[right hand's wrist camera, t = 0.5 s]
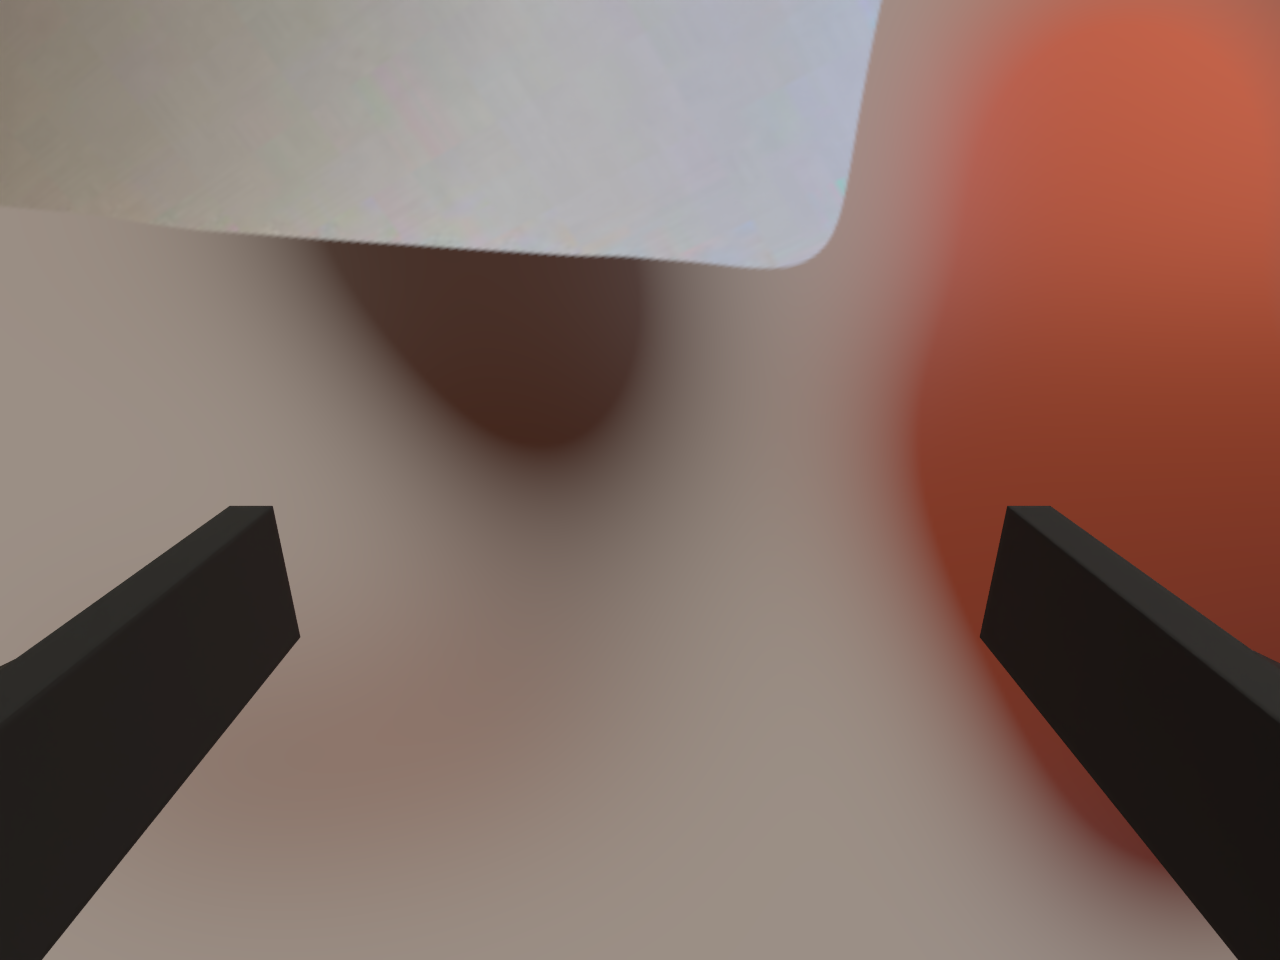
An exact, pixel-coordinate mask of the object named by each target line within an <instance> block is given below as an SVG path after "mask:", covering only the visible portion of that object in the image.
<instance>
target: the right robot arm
mask: <svg viewBox="0 0 1280 960" xmlns="http://www.w3.org/2000/svg"><path fill="white" fill-rule="evenodd" d="M299 638H300V634H299V629H298V624H297V620H296V615H295V610H294V605H293V600H292V596H291V591H290V586H289V581H288V577H287V572H286V567H285V562H284V558H283V553H282V548H281V543H280V539H279V534H278V529H277V524H276V520H275V515H274V510H273V506H229V507H228V508H226V509H225V510H223V511H222V512H221V513H219V514H218V515H216V516H215V517H214V518H212V519H211V520H209V521H208V522H207V523H205V524H204V525H202V526H201V527H200V528H198V529H197V530H196V531H194V532H193V533H191V534H190V535H188V536H187V537H186V538H184V539H183V540H181V541H180V542H179V543H177V544H176V545H174V546H173V547H172V548H170V549H169V550H167V551H166V552H165V553H163V554H162V555H160V556H159V557H158V558H156V559H155V560H153V561H152V562H151V563H149V564H148V565H146V566H145V567H144V568H142V569H141V570H139V571H138V572H137V573H135V574H134V575H132V576H131V577H130V578H128V579H127V580H126V581H124V582H123V583H121V584H120V585H119V586H117V587H116V588H114V589H113V590H112V591H110V592H109V593H107V594H106V595H105V596H103V597H102V598H100V599H99V600H98V601H96V602H95V603H93V604H92V605H91V606H89V607H88V608H86V609H85V610H84V611H82V612H81V613H79V614H78V615H77V616H75V617H74V618H72V619H71V620H70V621H68V622H67V623H65V624H64V625H63V626H61V627H60V628H58V629H57V630H56V631H54V632H53V633H51V634H50V635H49V636H47V637H46V638H44V639H43V640H42V641H40V642H39V643H37V644H36V645H35V646H33V647H32V648H30V649H29V650H28V651H26V652H25V653H23V654H22V655H21V656H19V657H18V658H16V659H14V660H12V661H10V662H8V663H6V664H4V665H2V666H0V960H42V959H43V958H44V956H45V955H46V954H47V953H48V951H49V950H50V949H51V948H52V946H53V945H54V944H55V943H56V941H57V940H58V939H59V938H60V936H61V935H62V934H63V933H64V931H65V930H66V929H67V928H68V926H69V925H70V924H71V923H72V921H73V920H74V919H75V918H76V916H77V915H78V914H79V913H80V911H81V910H82V909H83V908H84V906H85V905H86V904H87V903H88V901H89V900H90V899H91V898H92V896H93V895H94V894H95V893H96V891H97V890H98V889H99V888H100V886H101V885H102V884H103V883H104V881H105V880H106V879H107V878H108V876H109V875H110V874H111V873H112V871H113V870H114V869H115V868H116V866H117V865H118V864H119V863H120V861H121V860H122V859H123V858H124V856H125V855H126V854H127V853H128V852H129V850H130V849H131V848H132V846H133V845H134V844H135V843H136V842H137V840H138V839H139V838H140V837H141V835H142V834H143V833H144V831H145V830H146V829H147V828H148V826H149V825H150V824H151V823H152V822H153V820H154V819H155V818H156V817H157V815H158V814H159V813H160V812H161V810H162V809H163V808H164V807H165V805H166V804H167V803H168V802H169V800H170V799H171V798H172V797H173V795H174V794H175V793H176V791H177V790H178V789H179V788H180V787H181V785H182V784H183V783H184V782H185V780H186V779H187V778H188V777H189V775H190V774H191V773H192V772H193V770H194V769H195V768H196V767H197V765H198V764H199V763H200V762H201V760H202V759H203V758H204V757H205V755H206V754H207V753H208V752H209V750H210V749H211V748H212V747H213V745H214V744H215V743H216V742H217V740H218V739H219V738H220V737H221V735H222V734H223V733H224V732H225V730H226V729H227V728H228V727H229V725H230V724H231V723H232V722H233V720H234V719H235V718H236V717H237V715H238V714H239V713H240V712H241V710H242V709H243V708H244V707H245V705H246V704H247V703H248V702H249V700H250V699H251V698H252V697H253V695H254V694H255V693H256V692H257V690H258V689H259V688H260V687H261V685H262V684H263V683H264V682H265V680H266V679H267V678H268V677H269V675H270V674H271V673H272V672H273V670H274V669H275V668H276V667H277V665H278V664H279V663H280V662H281V660H282V659H283V658H284V657H285V655H286V654H287V653H288V652H289V650H290V649H291V648H292V647H293V645H294V644H295V643H296V642H297V641H298V639H299ZM980 638H981V639H982V641H983V642H984V643H985V644H986V646H987V647H988V648H989V649H990V651H991V652H992V653H993V654H994V655H995V657H996V658H997V659H998V661H999V662H1000V663H1001V664H1002V665H1003V667H1004V668H1005V669H1006V670H1007V672H1008V673H1009V674H1010V675H1011V677H1012V678H1013V679H1014V680H1015V682H1016V683H1017V684H1018V685H1019V687H1020V688H1021V689H1022V690H1023V692H1024V693H1025V694H1026V695H1027V697H1028V698H1029V699H1030V700H1031V702H1032V703H1033V704H1034V705H1035V707H1036V708H1037V709H1038V710H1039V712H1040V713H1041V714H1042V715H1043V717H1044V718H1045V719H1046V720H1047V722H1048V723H1049V724H1050V725H1051V727H1052V728H1053V729H1054V730H1055V732H1056V733H1057V734H1058V735H1059V737H1060V738H1061V739H1062V740H1063V742H1064V743H1065V744H1066V745H1067V747H1068V748H1069V749H1070V750H1071V752H1072V753H1073V754H1074V755H1075V757H1076V758H1077V759H1078V760H1079V762H1080V763H1081V764H1082V765H1083V767H1084V768H1085V769H1086V770H1087V771H1088V773H1089V774H1090V775H1091V777H1092V778H1093V779H1094V780H1095V782H1096V783H1097V784H1098V785H1099V787H1100V788H1101V789H1102V790H1103V792H1104V793H1105V794H1106V795H1107V797H1108V798H1109V799H1110V800H1111V802H1112V803H1113V804H1114V805H1115V807H1116V808H1117V809H1118V810H1119V812H1120V813H1121V814H1122V815H1123V817H1124V818H1125V819H1126V820H1127V822H1128V823H1129V824H1130V825H1131V827H1132V828H1133V829H1134V830H1135V832H1136V833H1137V834H1138V835H1139V837H1140V838H1141V839H1142V840H1143V842H1144V843H1145V844H1146V845H1147V847H1148V848H1149V849H1150V850H1151V852H1152V853H1153V854H1154V855H1155V856H1156V858H1157V859H1158V860H1159V862H1160V863H1161V864H1162V865H1163V866H1164V868H1165V869H1166V870H1167V871H1168V873H1169V874H1170V875H1171V876H1172V878H1173V879H1174V880H1175V881H1176V883H1177V884H1178V885H1179V886H1180V888H1181V889H1182V890H1183V891H1184V893H1185V894H1186V895H1187V896H1188V898H1189V899H1190V900H1191V901H1192V903H1193V904H1194V905H1195V906H1196V908H1197V909H1198V910H1199V911H1200V913H1201V914H1202V915H1203V916H1204V918H1205V919H1206V920H1207V921H1208V923H1209V924H1210V925H1211V926H1212V928H1213V929H1214V930H1215V931H1216V933H1217V934H1218V935H1219V936H1220V938H1221V939H1222V940H1223V941H1224V943H1225V944H1226V945H1227V946H1228V948H1229V949H1230V950H1231V951H1232V953H1233V954H1234V955H1235V956H1236V958H1237V959H1238V960H1280V663H1278V662H1276V661H1274V660H1272V659H1270V658H1268V657H1266V656H1263V655H1261V654H1259V653H1257V652H1255V651H1252V650H1251V649H1250V648H1248V647H1247V646H1245V645H1244V644H1243V643H1241V642H1240V641H1238V640H1237V639H1236V638H1234V637H1233V636H1231V635H1230V634H1229V633H1227V632H1226V631H1224V630H1223V629H1222V628H1220V627H1219V626H1217V625H1216V624H1215V623H1213V622H1212V621H1210V620H1209V619H1208V618H1206V617H1205V616H1203V615H1202V614H1201V613H1199V612H1198V611H1196V610H1195V609H1194V608H1192V607H1191V606H1189V605H1188V604H1187V603H1185V602H1184V601H1182V600H1181V599H1180V598H1178V597H1177V596H1175V595H1174V594H1173V593H1171V592H1170V591H1168V590H1167V589H1166V588H1164V587H1163V586H1161V585H1160V584H1159V583H1157V582H1156V581H1154V580H1153V579H1152V578H1150V577H1149V576H1147V575H1146V574H1145V573H1143V572H1142V571H1140V570H1139V569H1138V568H1136V567H1135V566H1133V565H1132V564H1131V563H1129V562H1128V561H1126V560H1125V559H1124V558H1122V557H1121V556H1120V555H1118V554H1117V553H1115V552H1114V551H1112V550H1111V549H1110V548H1108V547H1107V546H1106V545H1104V544H1103V543H1101V542H1100V541H1098V540H1097V539H1096V538H1094V537H1093V536H1092V535H1090V534H1089V533H1087V532H1086V531H1085V530H1083V529H1082V528H1080V527H1079V526H1077V525H1076V524H1075V523H1073V522H1072V521H1071V520H1069V519H1068V518H1066V517H1065V516H1064V515H1062V514H1061V513H1059V512H1058V511H1057V510H1055V509H1054V508H1052V507H1051V506H1007V510H1006V515H1005V519H1004V524H1003V529H1002V534H1001V539H1000V543H999V548H998V553H997V558H996V562H995V567H994V572H993V577H992V581H991V586H990V591H989V596H988V600H987V605H986V610H985V615H984V619H983V624H982V629H981V634H980Z"/></svg>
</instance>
